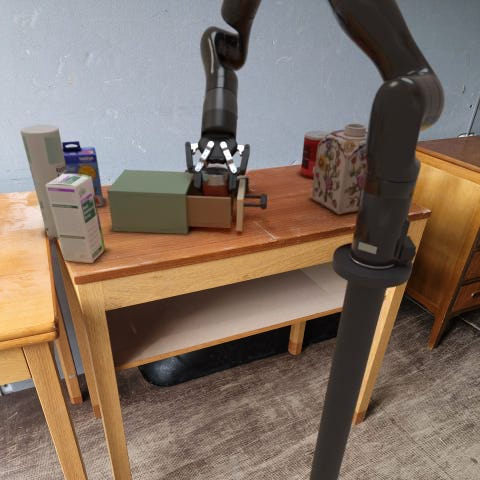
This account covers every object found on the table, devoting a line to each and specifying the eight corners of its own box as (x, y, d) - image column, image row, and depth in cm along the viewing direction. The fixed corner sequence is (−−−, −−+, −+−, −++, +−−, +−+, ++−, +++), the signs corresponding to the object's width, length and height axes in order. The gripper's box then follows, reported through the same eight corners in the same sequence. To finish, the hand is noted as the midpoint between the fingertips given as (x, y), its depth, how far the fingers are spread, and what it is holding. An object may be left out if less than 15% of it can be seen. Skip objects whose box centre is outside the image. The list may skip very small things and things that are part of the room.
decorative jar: (347, 192, 115) (360, 117, 104) (377, 208, 106) (394, 128, 96) (309, 199, 110) (318, 121, 100) (337, 215, 102) (350, 133, 91)
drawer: (265, 209, 102) (267, 180, 98) (265, 232, 92) (267, 200, 88) (181, 206, 102) (180, 176, 98) (172, 228, 92) (170, 196, 88)
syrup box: (92, 264, 81) (77, 185, 72) (62, 260, 81) (44, 182, 73) (105, 250, 85) (92, 174, 77) (77, 247, 86) (61, 172, 78)
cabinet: (195, 209, 103) (194, 172, 98) (187, 234, 92) (185, 193, 87) (129, 206, 103) (124, 169, 98) (113, 231, 92) (106, 190, 87)
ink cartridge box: (60, 210, 100) (45, 144, 92) (60, 202, 105) (45, 137, 96) (104, 206, 103) (94, 141, 95) (103, 198, 107) (93, 135, 99)
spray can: (73, 238, 89) (50, 133, 77) (41, 237, 89) (13, 132, 77) (83, 225, 94) (63, 125, 83) (52, 224, 94) (28, 124, 83)
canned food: (333, 175, 126) (339, 134, 120) (317, 181, 121) (322, 139, 115) (311, 168, 130) (316, 129, 124) (295, 174, 126) (299, 133, 119)
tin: (230, 203, 98) (230, 167, 93) (228, 214, 93) (228, 176, 89) (203, 202, 98) (202, 166, 93) (200, 212, 93) (199, 175, 89)
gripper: (183, 105, 91) (177, 182, 88) (253, 108, 90) (249, 185, 88) (188, 127, 98) (183, 198, 96) (253, 129, 98) (249, 201, 95)
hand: (214, 191), depth 92 cm, fingers closed on tin, 6 cm apart
